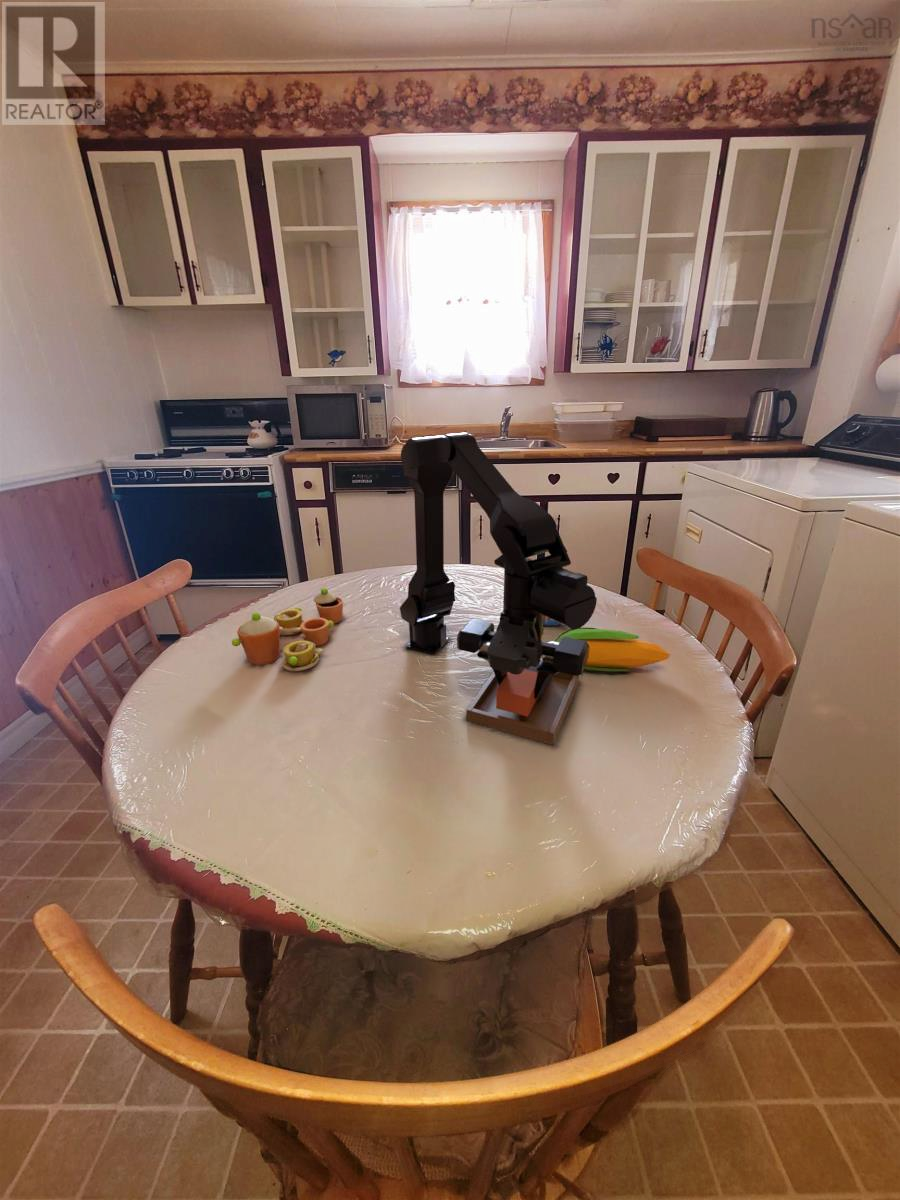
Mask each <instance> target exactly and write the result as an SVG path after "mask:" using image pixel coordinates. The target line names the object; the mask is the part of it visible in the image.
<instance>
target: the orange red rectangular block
mask: <svg viewBox="0 0 900 1200" xmlns="http://www.w3.org/2000/svg"><path fill="white" fill-rule="evenodd" d="M536 678H537V672H533V671H529V670H525V669H524V671H523V672H522V673H521V674H518V675H515V674H511V673H510V672H508V673H507V675H506V676H505V678H504V679H503V681H502V682H501V684H500V685H499V687H498V688H497V693H496V708H497V709H501V710H504V711H508V712H512V713H516V714H519V715H523V716H527V717H528V715H529V714H530V712H531V710H532V708H533V706H534V704H535V702H536V700H537V699H535V698H534V689H535V683H536ZM540 692H541V691H540ZM539 694H540V693H539ZM538 696H539V695H538ZM537 698H538V697H537Z"/></svg>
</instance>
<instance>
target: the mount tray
mask: <svg viewBox="0 0 900 1200" xmlns="http://www.w3.org/2000/svg"><path fill="white" fill-rule="evenodd" d="M507 673H508V672H507ZM579 681H580V675H578V676H574V675H570V674H565V673H561V672H559V673H558V674H556V675H553V674H552V679H551V681H550V683H549V685H548V687H547V689H546V691H545V693H544V695H543V697H542V699H541V701H537V700H536V702H535V704H534V706H533V708H532V710H531V712H530V714H529V715H528V717H527V716H523V715H519V714H516V713H512V712H508V711H504V710H501V709H497V708H496V693H497V688H498V687H499V684H498V681H497V679H496V676H495V674H494V671H492V673H491V674H490V676H489V677H488V679H487V680H486V681H485V683H484V684H483V686H482V687H481V689H480V690H479V691H478V693H477V694H476V696H475V697H474V699H472V701H471V703H470V704H469V705H468V707H467V708H466V722H469V723H474V724H477V725H481V726H484V727H487V728H491V729H495V730H497V731H502V732H505V733H508V734H511V735H516V736H517V737H518V736H519V737H522V738H525V739H529V740H533V741H535V742H536V741H537V742H540V743H544V744H546V745H550V746H554V744H555V742H556V739H557V737H558V735H559V731H560V730H561V728H562V725H563V722H564V720H565V717H566V714H567V712H568V710H569V708H570V705H571V703H572V701H573V697H574V695H575V693H576V690H577V688H578V685H579Z"/></svg>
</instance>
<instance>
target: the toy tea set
mask: <svg viewBox="0 0 900 1200" xmlns="http://www.w3.org/2000/svg"><path fill="white" fill-rule="evenodd" d="M313 602H314V603H315V606H316V609H317V612H318V613H317V614H318V615H319V617H312V618H308V619H306V620H304V619H303V612H302V608H301V607H300V606H297V607H295V608H289V609H288V608H287V609H284V610H281V611H279V612H278V613H276V614H275V615H274V616H273V618H271V617H268V616H265V615H261V613H260V612H256V611H255V612H253V613H252V615H251V618H248V619H247V620H246V621H244V623H243V624H242V625H240V626H239V627H238V629H237V633H236V634H237V636H238V637H235V638H232V640H231V645H232V646H233V647H238V646H240V645H241V646H242V649H243V651H244V653H245V656H246V658H247V660H248V662H249V663H251V664H253V665H257V666H259V665H260V666H261V665H267V664H271V663H273V662H274V661H277V659H279V657H280V654H281V650H280V649H281V642H280V641H281V640H280V639H281V636H292V635H295V634H299V633H301V634H299V639H301V640H296V641H293V642H290V643H288V644H287V645H285V647H283V649H282V651H283V655H284V657H283V658H282V660H281V666H282V668H283V669H285V670H287V671H290V672H301V671H305V670H308V669H311V668H312V667H314V666H315V665H317V663H318V662H319V659H320V656H319V655H323V654H324V649H323V648H321V646H322V645H325V644H327V642H328V641H329V640H330V639H329V637H330V629H332V628H333V627H334V625H335V624H337V623H340V622H341V621H342V620H343V608H344V599H343V598H341V597H339V596H337V595H336V594H335V593H333V592H330V591H329V589H328V588H326V587H322V588H321V589H320V593H317V594H316V595H315V596H314V597H313ZM303 639H304V640H303ZM318 646H320V647H318Z"/></svg>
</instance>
